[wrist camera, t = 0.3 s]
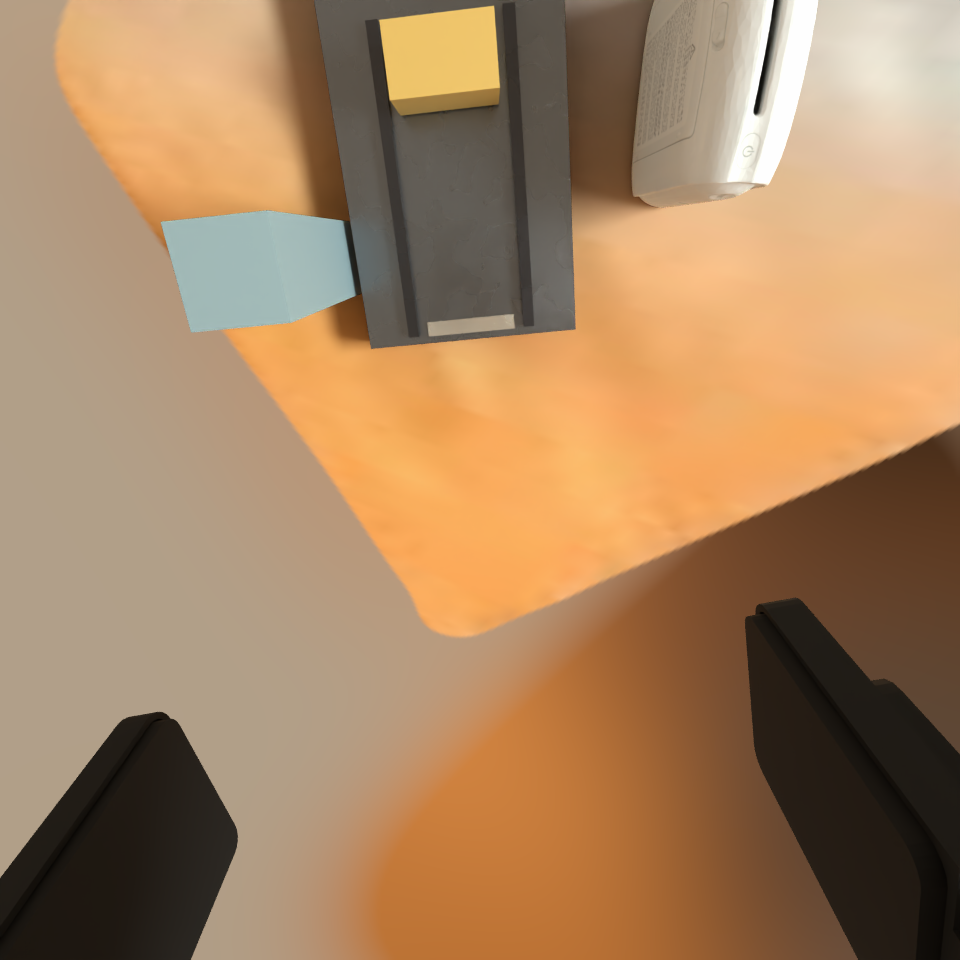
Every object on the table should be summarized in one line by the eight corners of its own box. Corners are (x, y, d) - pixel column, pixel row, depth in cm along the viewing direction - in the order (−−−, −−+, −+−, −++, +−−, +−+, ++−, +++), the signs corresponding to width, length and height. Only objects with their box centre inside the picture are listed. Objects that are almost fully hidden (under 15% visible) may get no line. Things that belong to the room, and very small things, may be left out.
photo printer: (697, 210, 34) (803, 195, 22) (622, 209, 34) (691, 193, 22) (729, -11, 30) (878, -166, 19) (645, -13, 30) (741, -169, 19)
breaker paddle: (391, 44, 29) (379, 19, 25) (493, 32, 28) (494, 5, 25) (400, 115, 30) (389, 100, 27) (498, 104, 30) (499, 87, 26)
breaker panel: (322, -12, 30) (304, -39, 27) (556, -42, 30) (563, -73, 27) (378, 341, 37) (369, 350, 34) (569, 323, 36) (576, 330, 33)
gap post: (284, 228, 35) (160, 222, 22) (351, 221, 34) (267, 210, 21) (298, 299, 36) (191, 332, 23) (362, 292, 36) (290, 322, 23)
